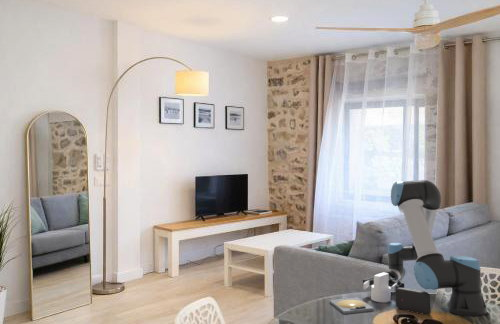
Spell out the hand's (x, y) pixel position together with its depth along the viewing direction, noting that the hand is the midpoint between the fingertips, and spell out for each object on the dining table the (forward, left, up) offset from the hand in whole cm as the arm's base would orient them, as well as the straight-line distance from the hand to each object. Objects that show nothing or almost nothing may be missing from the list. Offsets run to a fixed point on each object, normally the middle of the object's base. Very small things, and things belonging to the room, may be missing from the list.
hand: (378, 288), depth 227 cm
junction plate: (-2, +15, -7) cm, 16 cm away
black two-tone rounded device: (-18, -7, -7) cm, 21 cm away
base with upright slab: (+3, -2, -7) cm, 7 cm away
